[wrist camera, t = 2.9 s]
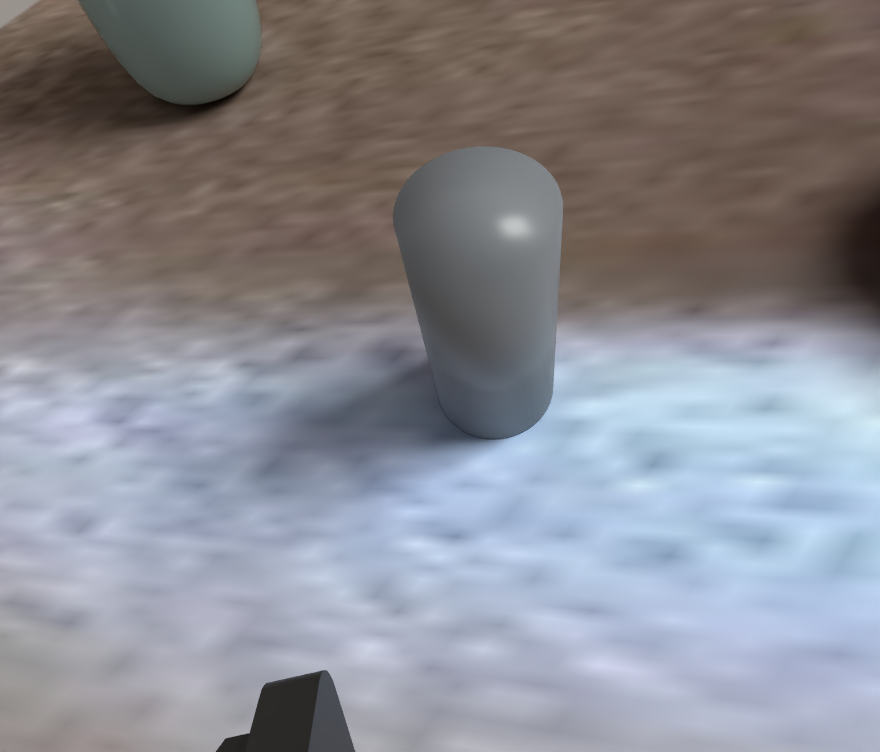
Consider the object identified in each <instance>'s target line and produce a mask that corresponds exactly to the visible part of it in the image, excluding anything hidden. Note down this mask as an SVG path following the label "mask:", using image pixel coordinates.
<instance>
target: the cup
mask: <svg viewBox="0 0 880 752" xmlns="http://www.w3.org/2000/svg"><path fill="white" fill-rule="evenodd" d="M77 1H78V3H79V5H80V6H81V8H82V9H83V11H84V13H85V14H86V16H87V17H88V19H89V20H90V22H91V24H92V25H93V27H94V28H95V30H96V31H97V33H98V34H99V36H100V37H101V39H102V40H103V41H104V43H105V44H106V46H107V47H108V48H109V50H110V51H111V53H112V54H113V55H114V57H115V58H116V59H117V60H118V62H119V63H120V64H121V65H122V67H123V68H124V69H125V70H126V71H127V72H128V73H129V74H130V76H131V77H132V78H133V79H134V80H135V81H136V82H137V83H138V84H139V85H140V86H141V87H143V88H144V89H145V90H146V91H147V92H149V93H151V94H152V95H154V96H156V97H158V98H159V99H161V100H163V101H167V102H171V103H174V104H179V105H197V104H204V103H210V102H213V101H216V100H220V99H222V98H224V97H227V96H229V95H230V94H232V93H234V92H236V91H237V90H238V89H240V88H241V87H242V86H243V85H244V84H246V83H247V81H248V80H249V79H250V78H251V76H252V75H253V73H254V71H255V69H256V67H257V65H258V62H259V58H260V54H261V48H262V27H261V20H260V13H259V8H258V4H257V0H77Z"/></svg>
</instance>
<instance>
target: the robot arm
mask: <svg viewBox="0 0 880 752" xmlns="http://www.w3.org/2000/svg"><path fill="white" fill-rule="evenodd" d="M216 752H355V750H354V746H353V743H352V740H351V737H350V734H349V730H348V727H347V724H346V721H345V718H344V714H343V711H342V708H341V705H340V701H339V698H338V695H337V692H336V689H335V686H334V683H333V680H332V678H331V676H330V674H329V673H328V671H326V670H323V671H319V672H314V673H310V674H305V675H301V676H296V677H292V678H287V679H283V680H278V681H274V682H269V683H266V684H265V685H264V686H263V688H262V691H261V694H260V697H259V701H258V705H257V708H256V712H255V716H254V719H253V723H252V727H251V731H250V733H248V734H244V735H239V736H235V737H230V738H226V739H225V740H224V741H223V743H222V744H221V745H220V747H219V748H218V749H217V751H216Z"/></svg>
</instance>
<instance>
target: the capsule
mask: <svg viewBox="0 0 880 752" xmlns="http://www.w3.org/2000/svg"><path fill="white" fill-rule="evenodd" d="M562 219H563V200H562V195H561V192H560V189H559V187H558V184H557V183H556V181H555V179H554V178H553V176H552V175H551V174H550V173H549V172H548V170H547V169H545V168H544V167H543V166H542V165H541V164H540V163H538V162H537V161H535V160H534V159H532V158H530V157H528V156H526V155H524V154H522V153H519V152H516V151H513V150H509V149H505V148H499V147H486V146H482V147H470V148H463V149H459V150H455V151H452V152H449V153H446V154H443V155H441V156H439V157H437V158H434V159H433V160H431V161H429V162H428V163H426V164H424V165H423V166H422V167H420V168H419V169H418V170H417V171H416V172H415V173H414V174H413V175H411V176H410V178H409V179H408V180H407V181H406V183H405V184H404V185H403V187H402V189H401V190H400V192H399V194H398V197H397V199H396V202H395V206H394V213H393V220H394V228H395V232H396V236H397V240H398V243H399V247H400V251H401V255H402V259H403V263H404V267H405V271H406V274H407V278H408V282H409V286H410V290H411V294H412V298H413V302H414V305H415V309H416V313H417V317H418V321H419V325H420V329H421V332H422V336H423V340H424V344H425V348H426V352H427V356H428V360H429V363H430V367H431V371H432V375H433V379H434V383H435V387H436V390H437V394H438V398H439V402H440V405H441V407H442V410H443V411H444V413H445V415H446V416H447V417H448V419H449V420H450V421H451V422H452V423H453V424H454V425H455V426H457V427H458V428H459V429H461V430H462V431H464V432H466V433H468V434H471V435H473V436H476V437H480V438H487V439H501V438H508V437H512V436H515V435H518V434H520V433H522V432H524V431H526V430H528V429H529V428H531V427H532V426H533V425H535V424H536V423H537V422H538V421H539V420H540V419H541V417H542V416H543V415H544V414H545V412H546V410H547V409H548V406H549V404H550V402H551V398H552V393H553V380H554V362H555V345H556V327H557V309H558V291H559V273H560V255H561V237H562Z"/></svg>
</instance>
